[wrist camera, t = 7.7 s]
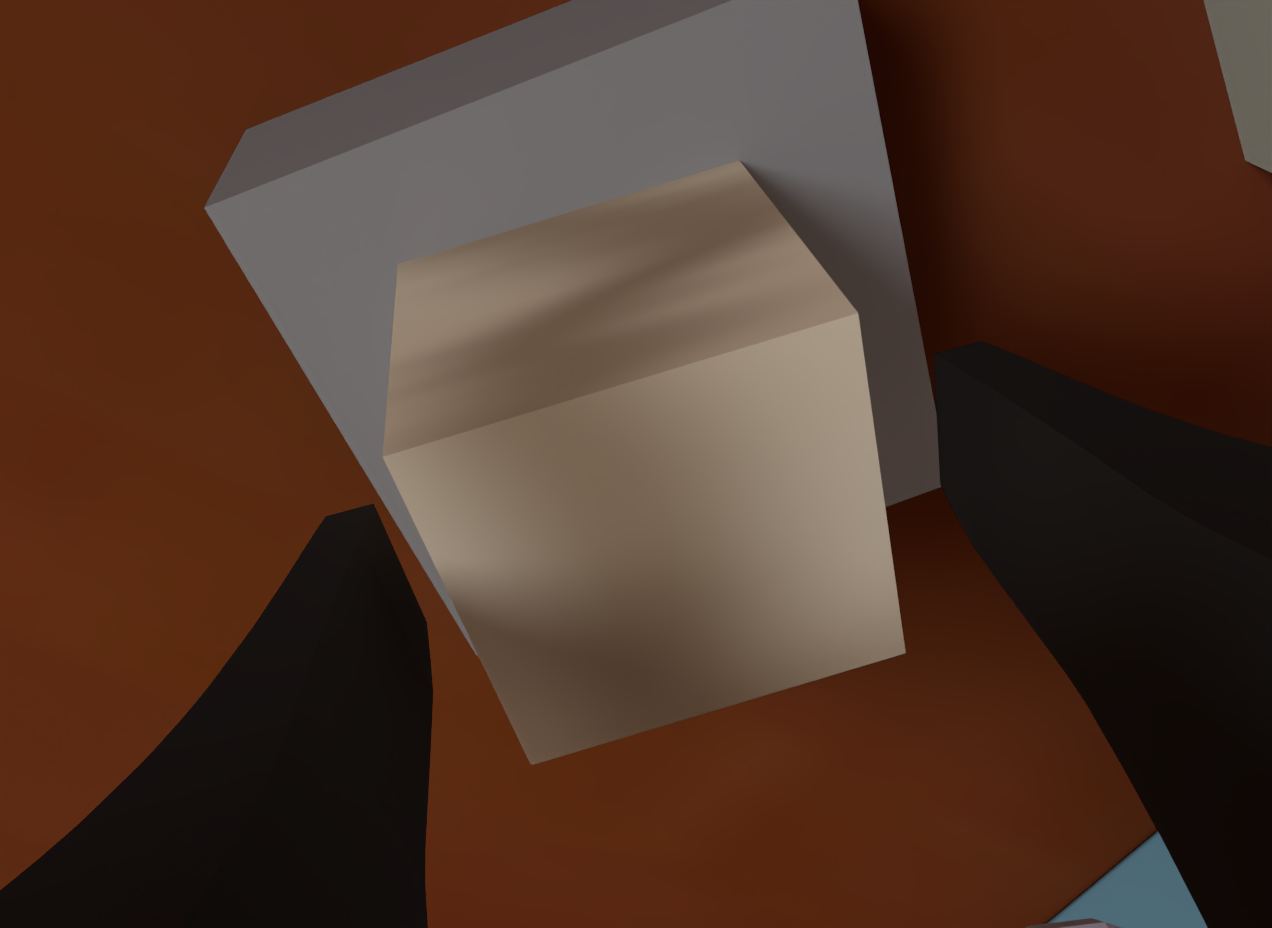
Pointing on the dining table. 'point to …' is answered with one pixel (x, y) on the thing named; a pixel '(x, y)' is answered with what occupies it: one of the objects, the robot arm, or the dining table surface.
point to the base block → (576, 185)
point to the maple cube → (643, 460)
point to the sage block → (1247, 70)
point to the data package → (1138, 893)
